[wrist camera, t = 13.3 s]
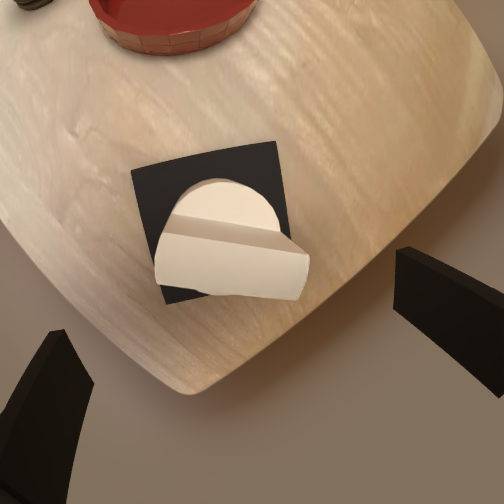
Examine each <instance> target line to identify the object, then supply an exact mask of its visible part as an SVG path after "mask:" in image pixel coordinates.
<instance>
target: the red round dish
mask: <svg viewBox="0 0 504 504" xmlns="http://www.w3.org/2000/svg"><path fill="white" fill-rule="evenodd" d="M257 1H258V0H89V3H90V5H91V7H92V9H93V11H94V13H95V15H96V17H97V19H98V20H99V22H100V23H101V25H102V26H103V28H104V29H105V31H106V32H107V34H108V35H109V36H110V37H112V38H113V39H114V40H115V41H116V42H117V43H119V44H120V45H122V46H124V47H126V48H128V49H130V50H133V51H136V52H140V53H144V54H151V55H177V54H184V53H189V52H193V51H197V50H200V49H203V48H207V47H209V46H211V45H214V44H216V43H218V42H220V41H222V40H223V39H225V38H227V37H228V36H230V35H231V34H233V33H234V32H235V31H236V30H237V29H239V28H240V27H241V26H242V25H243V23H244V22H245V21H246V20H247V18H248V17H249V15H250V14H251V12H252V11H253V9H254V7H255V5H256V3H257Z"/></svg>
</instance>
